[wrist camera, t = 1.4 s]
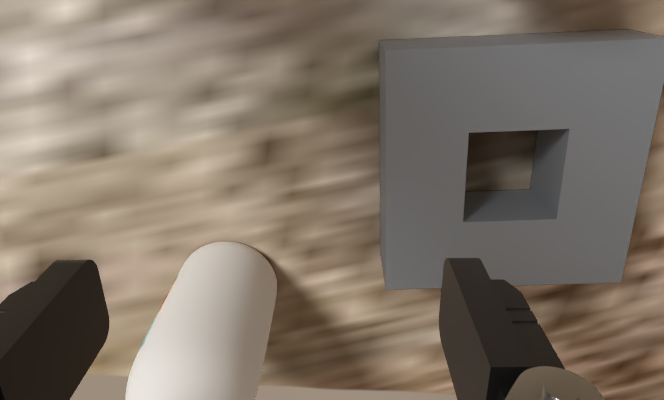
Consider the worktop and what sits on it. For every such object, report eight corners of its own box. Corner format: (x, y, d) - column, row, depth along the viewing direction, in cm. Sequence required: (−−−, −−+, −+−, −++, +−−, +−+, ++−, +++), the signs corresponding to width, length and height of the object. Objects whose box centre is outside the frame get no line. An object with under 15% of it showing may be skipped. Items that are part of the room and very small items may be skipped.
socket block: (378, 40, 34) (385, 50, 29) (627, 29, 33) (673, 38, 29) (380, 253, 40) (385, 289, 35) (588, 246, 40) (621, 282, 35)
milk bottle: (199, 222, 39) (79, 441, 21) (293, 259, 40) (256, 497, 22) (169, 300, 42) (40, 552, 24) (258, 332, 43) (199, 595, 25)
